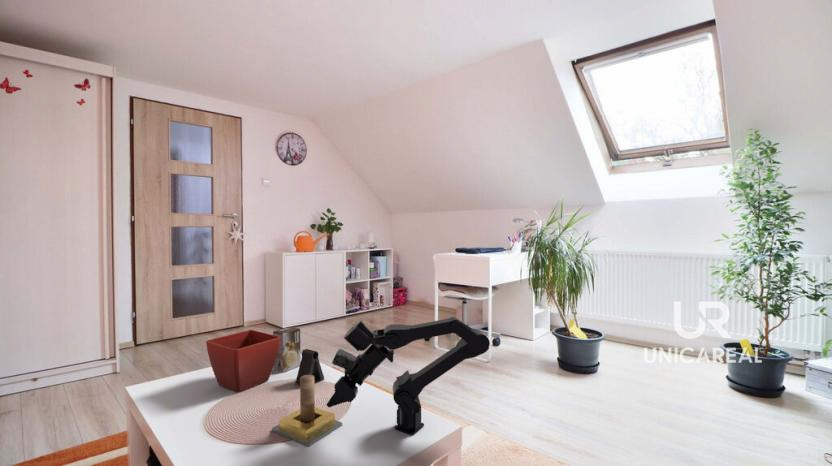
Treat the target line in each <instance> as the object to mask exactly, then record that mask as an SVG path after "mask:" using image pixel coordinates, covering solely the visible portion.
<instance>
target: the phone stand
mask: <svg viewBox="0 0 832 466" xmlns="http://www.w3.org/2000/svg"><path fill="white" fill-rule="evenodd" d="M304 375H313V376H314V385H315V384H318V383H320V382H323V381H325V376H324V372H323V369H322V366H321V363H320V358H319V352H318V351H315V350H313V349H312V350H311V349H307V348H304V349H302V350H301V363H300V366H299V367H298V372H297V375H296V379H295V383H294V384H295V385H298V386H300V377H302V376H304Z"/></svg>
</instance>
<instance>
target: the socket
mask: <svg viewBox="0 0 832 466" xmlns="http://www.w3.org/2000/svg"><path fill="white" fill-rule="evenodd" d="M342 426H343V422H341V421H338V420H336V414H335V413H334V412H330V411H327V410H325V409H322V408H319V407H315V420H313V421H311V422H310V423H308V424H305V423H303V422H301V420H300V409H298V410H296V411H294V412H292V413H290V414H288V415H286V416H284V417H282V418H280V419H279V423H278V424H277V425H275V426H273V427H271V432H274V433H275V434H279V436H280V435H281V436H283V437H285V438H287V439H290V440H292V441H295V442H296V443H299V444H302V445H303V446H305V447H311V446H312V445H314V444H315V443H317V442H318V441H320V440H322V439H323V438H325V437H326V436H328V435H329V434H331V433H333V432H334V431H336V430H337V429H339V428H340V427H342Z"/></svg>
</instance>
